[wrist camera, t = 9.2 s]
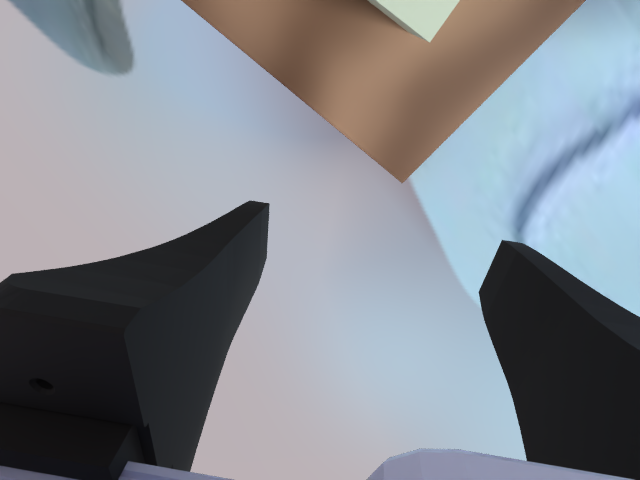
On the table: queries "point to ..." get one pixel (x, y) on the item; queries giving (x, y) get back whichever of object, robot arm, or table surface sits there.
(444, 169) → the table surface
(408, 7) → the sage block
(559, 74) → the table surface
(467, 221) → the table surface
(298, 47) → the walnut plinth
